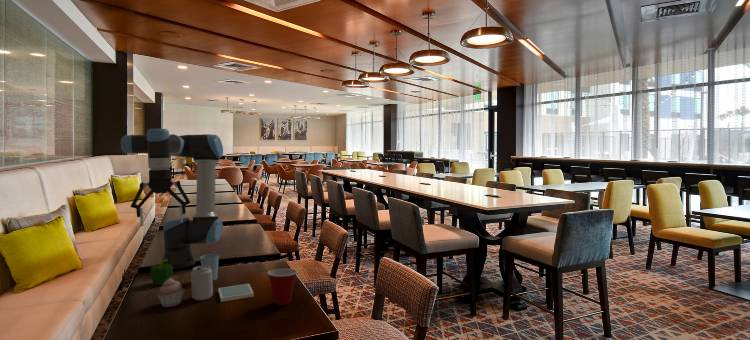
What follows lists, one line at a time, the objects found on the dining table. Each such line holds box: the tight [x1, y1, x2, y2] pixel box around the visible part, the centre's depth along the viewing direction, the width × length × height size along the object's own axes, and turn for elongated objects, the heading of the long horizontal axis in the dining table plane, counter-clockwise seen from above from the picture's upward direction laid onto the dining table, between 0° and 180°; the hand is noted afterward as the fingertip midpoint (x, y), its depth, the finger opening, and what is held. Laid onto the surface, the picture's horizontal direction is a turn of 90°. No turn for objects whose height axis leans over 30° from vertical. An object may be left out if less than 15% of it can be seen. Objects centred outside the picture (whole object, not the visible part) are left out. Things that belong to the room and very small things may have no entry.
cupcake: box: [156, 277, 185, 308], centre depth 152 cm, size 9×9×10 cm
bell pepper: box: [149, 260, 174, 286], centre depth 176 cm, size 8×8×10 cm
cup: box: [199, 253, 220, 282], centre depth 180 cm, size 8×8×10 cm
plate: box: [217, 283, 255, 303], centre depth 162 cm, size 12×12×2 cm
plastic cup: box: [267, 268, 298, 306], centre depth 153 cm, size 11×11×12 cm
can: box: [190, 265, 214, 302], centre depth 158 cm, size 8×8×12 cm
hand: (162, 224), depth 159 cm, fingers open, 13 cm apart
